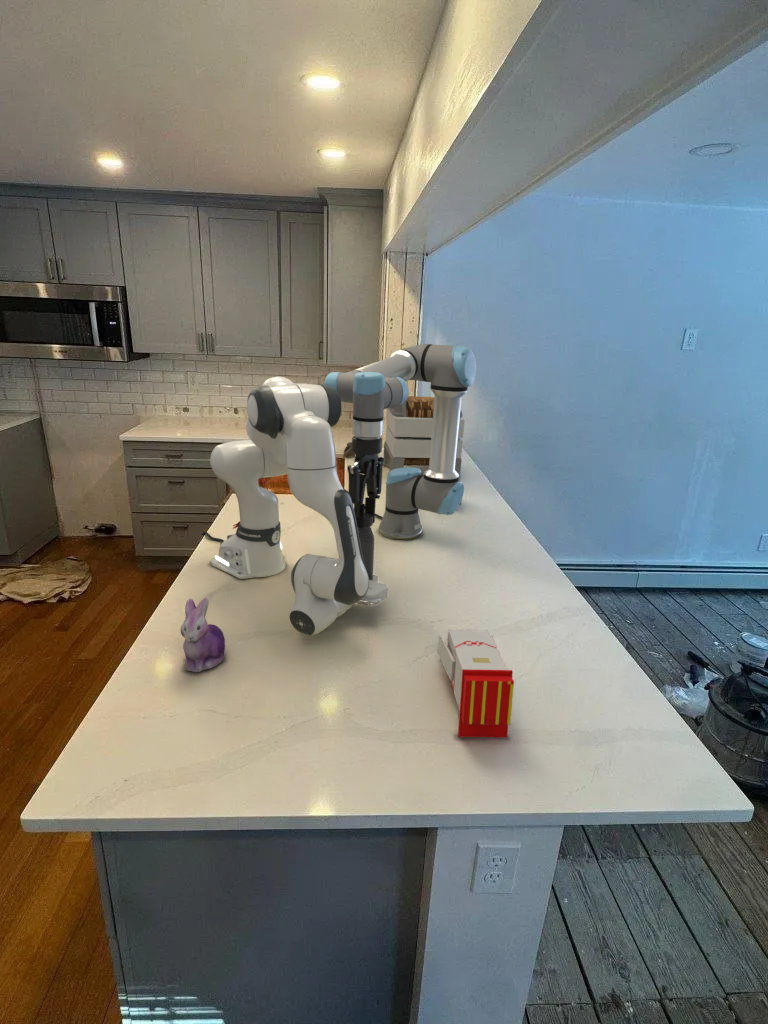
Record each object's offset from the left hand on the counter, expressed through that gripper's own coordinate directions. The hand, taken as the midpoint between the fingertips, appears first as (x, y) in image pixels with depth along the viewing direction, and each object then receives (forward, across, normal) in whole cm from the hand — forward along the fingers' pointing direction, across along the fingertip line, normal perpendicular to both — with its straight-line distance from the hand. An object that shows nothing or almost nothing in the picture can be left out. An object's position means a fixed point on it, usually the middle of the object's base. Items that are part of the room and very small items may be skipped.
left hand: (364, 574), depth 154 cm
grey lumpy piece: (+137, +81, +6) cm, 159 cm away
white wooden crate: (+122, +37, +6) cm, 128 cm away
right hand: (-1, 0, -15) cm, 15 cm away
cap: (-1, 0, -17) cm, 17 cm away
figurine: (-45, +15, +6) cm, 48 cm away
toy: (-25, -40, +6) cm, 47 cm away
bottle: (-1, 0, +6) cm, 6 cm away
